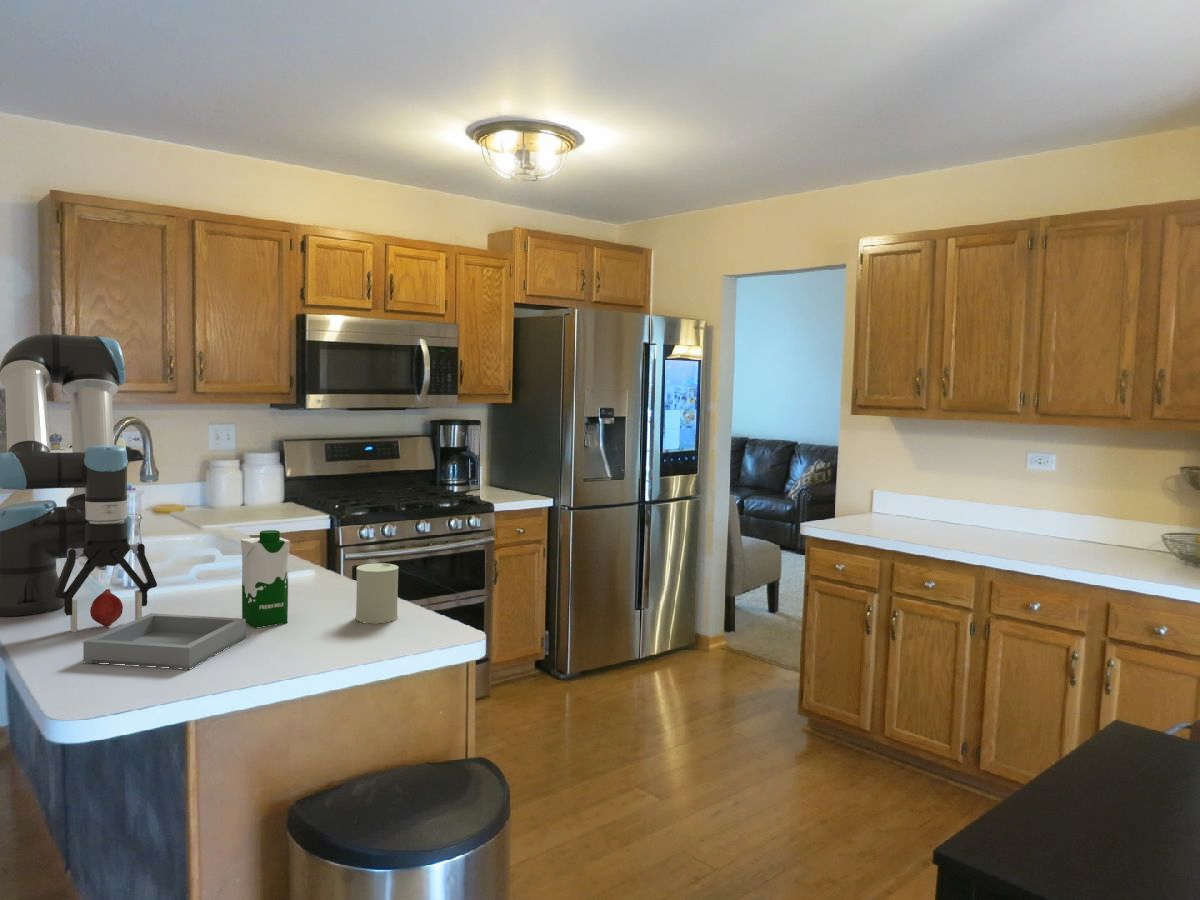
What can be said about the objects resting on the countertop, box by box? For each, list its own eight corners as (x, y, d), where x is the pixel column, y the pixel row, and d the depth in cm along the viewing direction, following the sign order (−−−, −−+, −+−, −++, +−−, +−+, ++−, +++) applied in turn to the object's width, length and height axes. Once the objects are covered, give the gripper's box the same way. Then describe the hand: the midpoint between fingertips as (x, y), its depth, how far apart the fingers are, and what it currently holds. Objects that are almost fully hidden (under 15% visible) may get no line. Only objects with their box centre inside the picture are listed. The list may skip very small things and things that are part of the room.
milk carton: (252, 630, 177) (253, 535, 176) (235, 620, 184) (236, 529, 182) (293, 623, 183) (294, 531, 182) (275, 614, 190) (276, 525, 188)
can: (406, 616, 192) (407, 564, 191) (379, 626, 183) (380, 571, 183) (374, 610, 196) (374, 559, 195) (346, 620, 187) (347, 566, 186)
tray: (83, 663, 153) (83, 641, 153) (151, 632, 173) (151, 613, 173) (189, 670, 151) (189, 647, 151) (245, 638, 171) (245, 618, 171)
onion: (89, 631, 172) (89, 593, 172) (91, 624, 177) (91, 586, 177) (122, 629, 175) (122, 590, 174) (123, 622, 180) (123, 584, 179)
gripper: (41, 527, 164) (42, 639, 165) (173, 519, 179) (173, 621, 181) (35, 522, 170) (36, 630, 171) (164, 514, 185) (164, 614, 186)
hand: (106, 626), depth 176 cm, fingers open, 11 cm apart
